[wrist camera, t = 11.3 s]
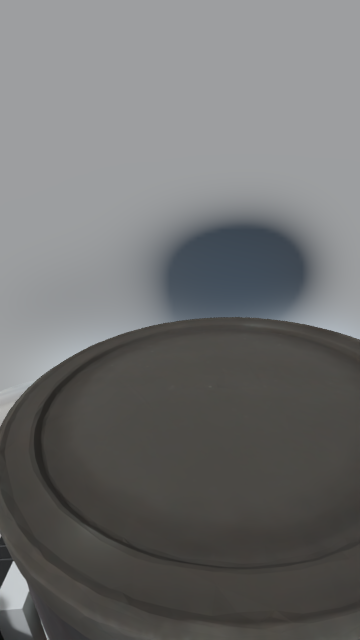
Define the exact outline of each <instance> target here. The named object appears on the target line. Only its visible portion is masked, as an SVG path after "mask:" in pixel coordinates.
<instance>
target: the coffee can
mask: <svg viewBox="0 0 360 640" xmlns="http://www.w3.org/2000/svg"><path fill="white" fill-rule="evenodd" d="M0 534H1V536H2V538H3V540H4V542H5V545H6V547H7V549H8V551H9V553H10V555H11V557H12V559H13V560H14V562H15V564H16V566H17V568H18V569H19V571H20V573H21V574H22V576H23V577H24V578H25V580H26V582H27V584H28V588H29V592H30V594H31V597H32V599H33V602H34V604H35V607H36V609H37V612H38V614H39V617H40V620H41V623H42V626H43V629H44V632H45V635H46V638H47V640H360V340H359V339H356V338H353V337H350V336H347V335H344V334H341V333H338V332H334V331H330V330H326V329H322V328H318V327H314V326H309V325H305V324H299V323H293V322H287V321H280V320H279V321H278V320H271V319H260V318H242V317H241V318H240V317H230V318H228V317H226V318H225V317H223V318H222V317H221V318H202V319H192V320H183V321H176V322H171V323H163V324H158V325H153V326H149V327H145V328H141V329H138V330H134V331H131V332H127V333H124V334H121V335H118V336H116V337H113V338H110V339H107V340H105V341H102V342H99V343H97V344H95V345H92V346H90V347H88V348H87V349H84V350H83V351H81V352H79V353H77V354H75V355H73V356H72V357H70V358H68V359H66V360H65V361H63V362H61V363H60V364H59V365H57V366H55V367H54V368H52V369H51V370H50V371H48V372H46V373H45V374H44V375H42V376H41V377H40V378H39V379H37V380H36V381H35V382H34V383H33V384H32V385H31V386H30V387H29V388H28V389H27V390H26V391H25V392H24V393H23V394H22V395H21V397H20V398H19V399H18V400H17V401H16V402H15V404H14V405H13V407H12V408H11V409H10V410H9V412H8V414H7V416H6V417H5V419H4V421H3V423H2V425H1V427H0Z"/></svg>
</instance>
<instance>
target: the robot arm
mask: <svg viewBox="0 0 360 640" xmlns="http://www.w3.org/2000/svg"><path fill="white" fill-rule="evenodd" d="M0 640H47V638H46V635H45V632H44V629H43V626H42V623H41V620H40V617H39V614H38V612H37V609H36V607H35V604H34V602H33V599H32V597H31V594H30V592H29V588H28V584H27V582H26V580H25V578H24V577H23V576H22V574H21V573H20V571H19V569H18V568H17V566H16V564H15V562H14V560H13V559H12V557H11V555H10V553H9V551H8V549H7V547H6V545H5V542H4V540H3V538H2V536H1V538H0Z"/></svg>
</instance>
